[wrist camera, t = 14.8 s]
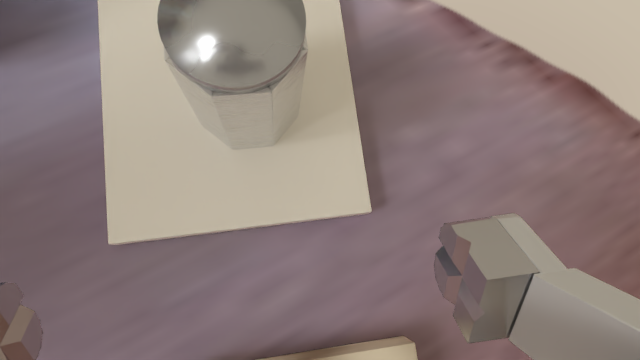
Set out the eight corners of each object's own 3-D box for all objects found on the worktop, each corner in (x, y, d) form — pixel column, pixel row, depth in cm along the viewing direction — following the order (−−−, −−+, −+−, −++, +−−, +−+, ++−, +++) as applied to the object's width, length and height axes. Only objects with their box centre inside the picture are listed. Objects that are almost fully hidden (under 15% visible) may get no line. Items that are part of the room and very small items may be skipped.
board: (116, 244, 23) (108, 244, 22) (105, 11, 25) (97, -1, 24) (367, 214, 24) (371, 211, 23) (334, -2, 27) (337, -14, 26)
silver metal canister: (204, 153, 23) (162, 93, 15) (196, 61, 24) (152, -44, 16) (301, 143, 24) (314, 80, 15) (290, 54, 24) (297, -51, 16)
